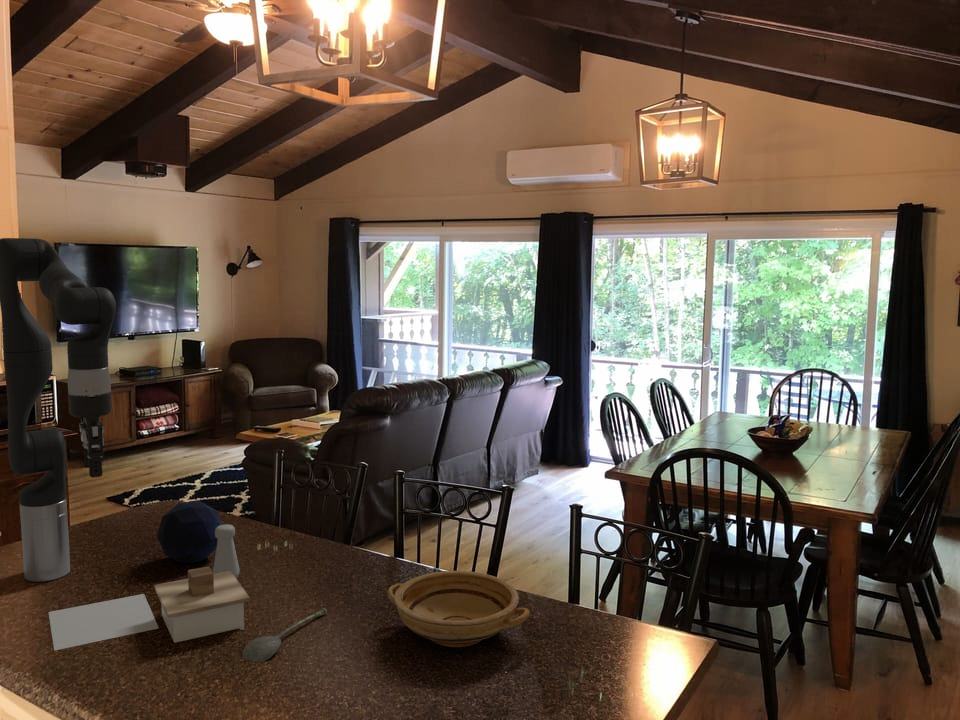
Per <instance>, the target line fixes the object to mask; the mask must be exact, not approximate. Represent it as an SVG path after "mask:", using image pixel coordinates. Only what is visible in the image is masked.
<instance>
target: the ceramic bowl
mask: <svg viewBox="0 0 960 720" xmlns="http://www.w3.org/2000/svg"><path fill="white" fill-rule="evenodd" d="M393 592H395V593H393ZM386 595H387V598H388V600H389V601H390V602H391V603H392V604H393V605H394V606H395V607H396V608H397V609H396V610H397V613H398V615H399V618H400V619H401V621H402V622H403V623H404V625H405V626H406V627H408V628H409V630H410V631H411V632H413V633H414V634H416V635H418V636H420V637H422V638H425V639H427V640H430V641H432V642H434V643H435V644H438V645H439V646H443V647H444V646H445V647H448V648H450V647H451V648H463V647H464V648H465V647H470V646H473V645H475V644H478V643H479V642H481V641H483V640H485V639H488V638H490V637H493V636H495V635H497V634H499V633H500V632H501V631H502V630H504V629H505V630H506V629H508V628H512V627H515V626H518V625H521V624H522V623H524V622H525V621H526V620H527V619H528V618H529V617H530V614H531V613H530V610H529V609H528V608H527V607H517V606H518V604H519V601H520V596H519V592H518V591H517V589H516V588H515V587H514V586H513V585H512V584H511V583H509V582H507V581H506V580H504V579H502V578H499V577H497V576H494V575H490V574H488V573H482V572H477V571H466V570H446V571H437V572H435V571H434V572H430V573H425V574H422V575H419V576H415V577H413V578H410V579H408V580H407V581H406V582H404V583H397V584H394V585H391V586H390V587H389V588H388V589H387V592H386Z"/></svg>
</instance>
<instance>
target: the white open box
mask: <svg viewBox="0 0 960 720" xmlns="http://www.w3.org/2000/svg"><path fill="white" fill-rule="evenodd" d="M244 604H245V603H240V604H235V605H230V606H225V607H221V608H216V609H211V610H206V611H201V612H197V613H192V614H187V615H182V616H178V617H173V618H168V617H167V615H166V613H165V611H164V608H163V606H162V605H161V617H162V619H163V621H164V624H165V625H166V628H167V629H168V632H169V634H170V636H171V639H172V641H173V642H174V644H175V643H180V642H183V641H188V640H192V639H197V638H201V637H206V636H210V635H215V634H219V633H225V632H229V631H232V630H237V629H239V630H240V631H244V630H245V609H244V608H245V605H244Z"/></svg>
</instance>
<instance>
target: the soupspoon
mask: <svg viewBox="0 0 960 720" xmlns="http://www.w3.org/2000/svg"><path fill="white" fill-rule="evenodd" d="M327 615H328V611H327V609H326V608H321V609H320V610H319V611H317V612H314V613H313V614H311V615H309V616H307V617H305V618H303V619H302V620H300V621H298V622H296V623H294V624H293V625H291V626H289V627H287V628H285V629H284V630H282V631H280V632H279V633H278V634H276V635H263V636H260V637H257V638H255V639H252V640H250V641H249V642H248V643H246V645H245V647H244V648H243V650H242V655H241V657H242V658H243V659H244V660H245V661H248V662H251V663H265V662H266V661H268V660H270V659H271V658H272V657H273V656H274V655H275V653H276V652H278V650H279V649H280V647H281V644H282V639H281V638H282V637H283V636H285V635H286V634H288V633H289V632H290V631H292V630H293V629H295V628H297V627H298V626H300V625H301V624H302V625H303V624H304V623H305V622H307V621H310V620H311V619H314V618H315V619H316V618H317V617H323V616H327Z"/></svg>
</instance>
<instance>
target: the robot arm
mask: <svg viewBox="0 0 960 720" xmlns="http://www.w3.org/2000/svg"><path fill="white" fill-rule="evenodd" d="M18 282H38V283H39V284H38V285H39V289H40V292H41V293H42V294H43V296H44V297H45V298H46V299H48V300H49V301H50V302H51V303H52V304H53V307H54V313H55V315H56V318H57V320H58V321H59V322H61V323H63V324H65V325H69V326H77V325H78V326H79V325H91V327H90V329H89V331H88V332H87V333H85V334H82V335H79V336H75V337H72V338H71V339H69V340H68V342H67V344H66V345H67V348H66V351H67V366H68V368H67V372H68V373H67V392H68V393H67V397H68V413H69V415H70V416H71V417H74V418H80V423H78V424H79V432H80V440H81V442H82V448H83V449H84V450H83V451H84V453H83V454H84V465H85V467H87V468H88V467H89V468H88V472H89V473H88V474H89V477H90V478H99V477H102V476H103V460H102V459H103V457H104V455H105V452H104V445H105V439H104V431H105V427H104V423H103V422H102V421H100V417H101V416H103V417H104V416H107V415H109V414H111V413H112V411H113V409H112V407H113V406H112V405H113V404H112V387H111V385H112V383H111V375H110V369H109V349H108V348H109V341H110V335H111V330H112V326H113V323H114V319H115V315H116V308H117V301H116V298H115V296H114V294H113V293H112V291H111V290H109V289H108V288H106V287H100V286H98V287H97V286H96V287H93V286H92V287H88V285H87V283H86V282H85V281H84V280H82V279H81V278H80V277H79V276H77V275H76V274H75V273H74V272H72V271H71V270H69V268H68V267H67V265H66V264H65V262H64V260H63V259H62V258H61V256H60V255H59V253H58V252H57V250H56V249H55V248H54V246H53V245H52V244H51V243H50V242H49V241H47V240H46V239H45V240H44V239H41V238H29V237H28V238H27V237H26V238H24V237H23V238H20V237H18V238H17V237H12V238H11V237H1V238H0V312H1V327H2V330H1V331H2V351H3V354H2V355H3V367H4V376H5V377H4V378H5V385H6V395H7V397H6V398H7V449H8V450H7V455H8V462H9V466H10V469H11V471H12V472H13V473H14V474H15V475H17V476H18V475H29V474H34V473H39V472H44V475H42V476H41V477H40V478H39V479H38V480H36V481H35V482H33V483H31V484H29V485H27V486H25V487H23V488H22V489H20V491H19V494H18V499H19V516H20V530H21V542H22V543H21V545H22V547H21V548H22V559H23V560H22V561H23V563H22V564H23V574H24V575H23V577H24V579H25V580H27V581H29V582H39V583H40V582H47V581H48V582H49V581H53V580H57V579H59V578H63V577H65V576H67V575H68V574H69V573H70V572H71V562H70V561H71V560H70V559H71V558H70V542H69V540H70V539H69V524H68V523H69V522H68V521H69V520H68V506H67V505H68V504H67V502H68V501H67V475H66V473H67V472H66V471H67V470H66V469H67V465H66V464H67V459H66V456H67V455H66V453H67V451H66V449H67V446H66V441H65V436H64V434H63V432H62V430H60V429H58V428H44V429H37V430H29V431H27V426H28V422H29V417H30V413H31V411H32V408H33V407H34V405H35V402H36V401H37V399H38V398H39V396H40V395H41V393H42V392H43V390H44V389H45V387H46V386H47V383H48V381H49V380H50V378H51V376H52V374H53V369H54V367H53V353H52V352H53V351H52V342H51V340H50V338H49V336H48V334H47V333H46V331H45V330H44V328H43V327H42V325H41V324H40V323H39V322H38V321H37V320H36V319H35V317H34V316H33V315H32V313H31V312H30V311H29V309H28V308H27V306H26V305H25V303H24V301H23V298H22V296H21V293H20V289H19V283H18ZM97 449H98V450H97Z"/></svg>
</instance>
